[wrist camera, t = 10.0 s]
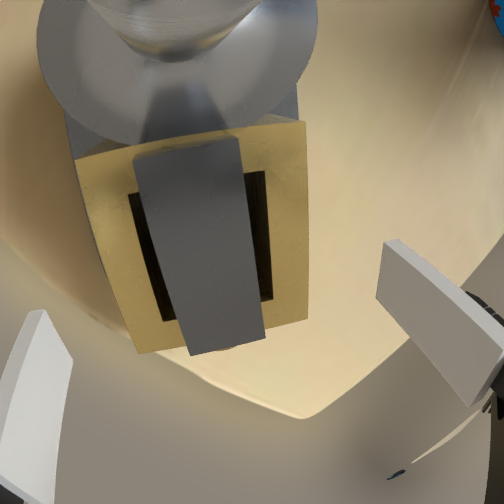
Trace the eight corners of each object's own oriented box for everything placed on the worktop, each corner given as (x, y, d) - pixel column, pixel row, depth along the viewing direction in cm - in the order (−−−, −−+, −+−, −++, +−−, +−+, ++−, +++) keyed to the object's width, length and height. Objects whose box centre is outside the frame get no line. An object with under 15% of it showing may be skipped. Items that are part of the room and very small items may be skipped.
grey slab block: (149, 133, 19) (132, 160, 11) (209, 120, 19) (238, 138, 11) (180, 265, 24) (190, 356, 16) (231, 253, 24) (265, 338, 16)
